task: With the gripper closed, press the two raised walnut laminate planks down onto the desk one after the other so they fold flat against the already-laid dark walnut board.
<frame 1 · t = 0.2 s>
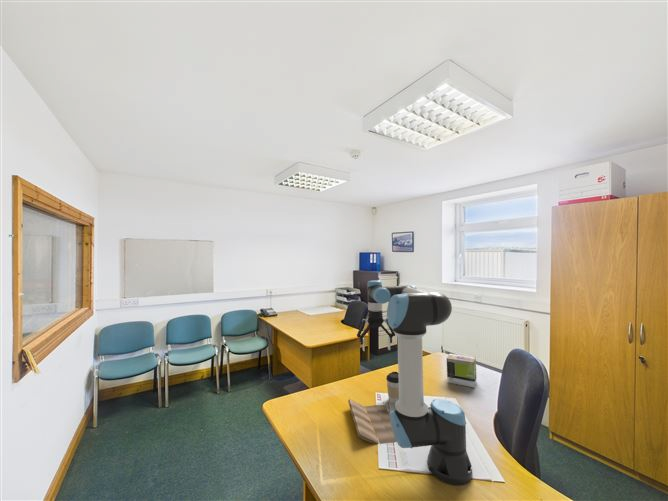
hand: (376, 349, 151), 27 cm above the table, fingers open, 13 cm apart
plank far: (359, 411, 137), point 3 cm above the table, hinge at 30.0°
tea box: (461, 382, 170), on the table
plank near: (365, 429, 123), point 3 cm above the table, hinge at 30.0°
laid board: (382, 424, 131), on the table
coffee cup: (395, 403, 149), on the table
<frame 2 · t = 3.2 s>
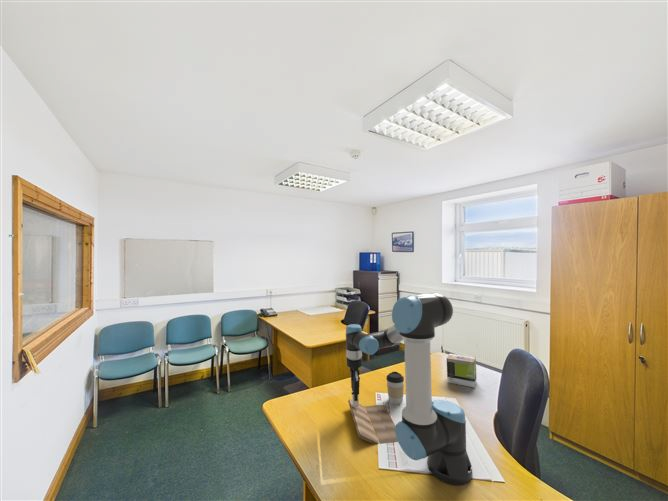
hand: (355, 406, 137), 6 cm above the table, fingers closed
plank far: (359, 411, 137), point 3 cm above the table, hinge at 30.0°, touching gripper
everything else where it was.
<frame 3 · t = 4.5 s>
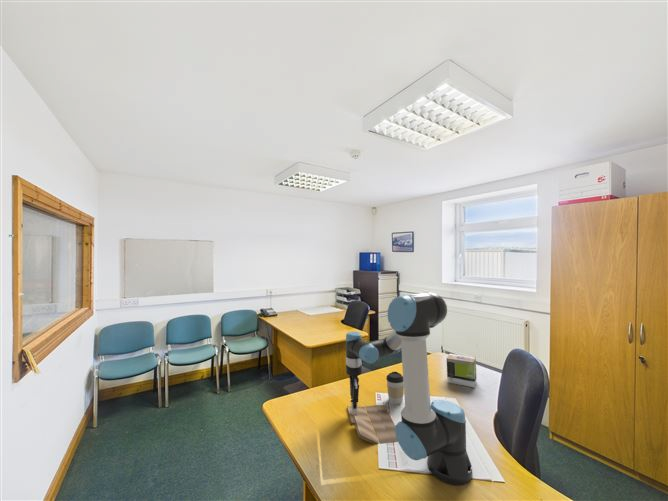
hand: (354, 413, 137), 2 cm above the table, fingers closed
plank far: (358, 415, 137), point 1 cm above the table, hinge at 5.7°, touching gripper
everything else where it was.
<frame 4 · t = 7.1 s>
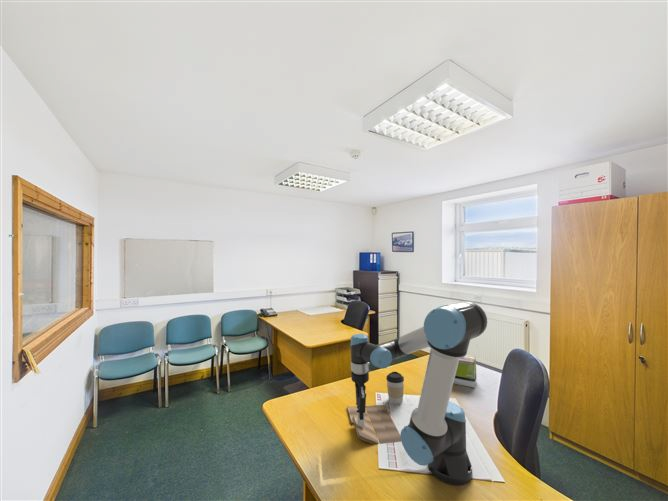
hand: (361, 425, 123), 5 cm above the table, fingers closed
plank far: (358, 415, 137), point 1 cm above the table, hinge at 5.7°
plank near: (365, 430, 123), point 3 cm above the table, hinge at 27.0°, touching gripper
everything else where it was.
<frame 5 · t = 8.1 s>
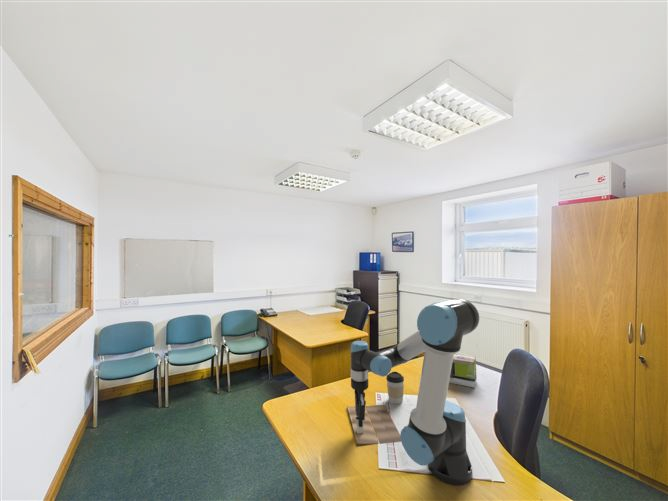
hand: (360, 432, 123), 2 cm above the table, fingers closed
plank near: (364, 434, 123), point 1 cm above the table, hinge at 5.5°, touching gripper
everything else where it was.
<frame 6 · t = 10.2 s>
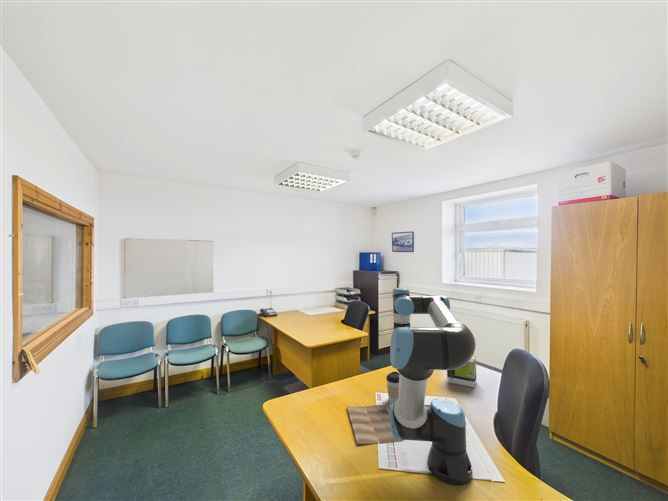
hand: (403, 372, 131), 24 cm above the table, fingers closed
plank near: (364, 434, 123), point 1 cm above the table, hinge at 5.5°
everything else where it was.
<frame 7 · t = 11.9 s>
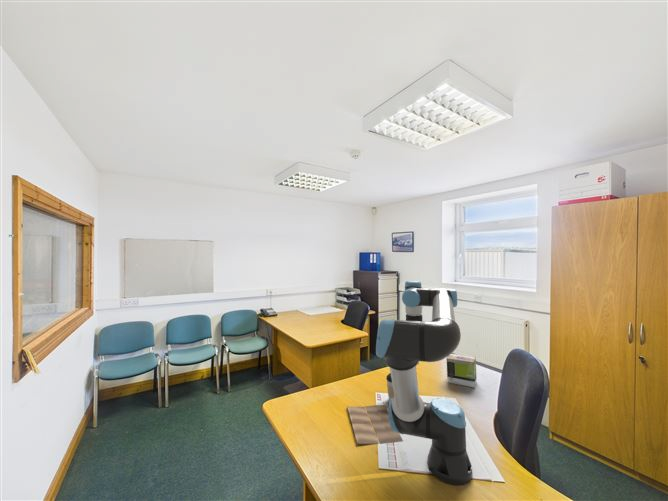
hand: (415, 363, 134), 26 cm above the table, fingers closed
nothing on the table moved.
at the end: plank far at +6° (first picture: +30°); plank near at +6° (first picture: +30°) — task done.
